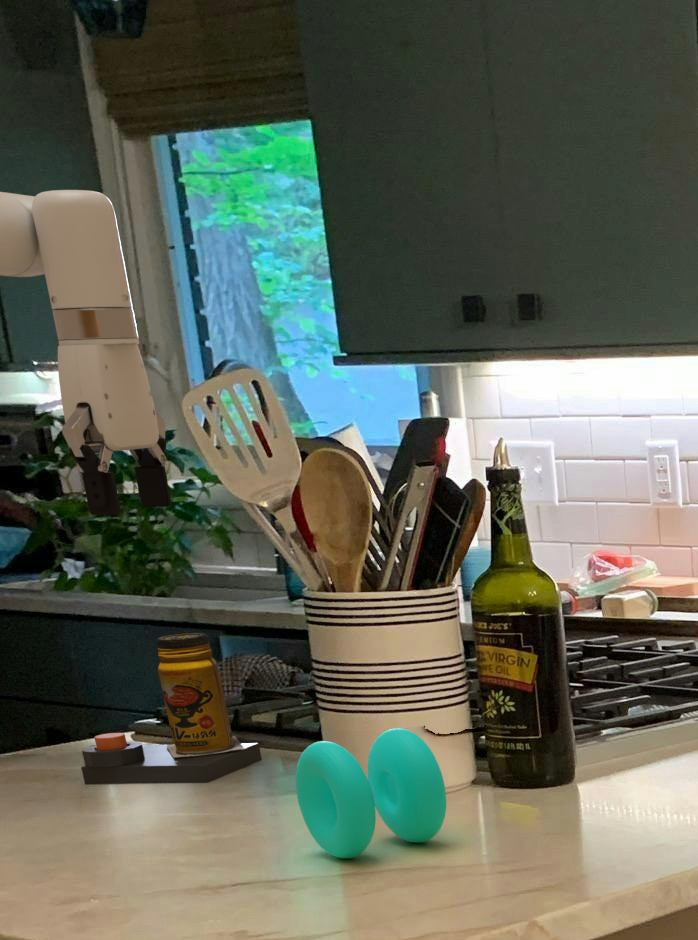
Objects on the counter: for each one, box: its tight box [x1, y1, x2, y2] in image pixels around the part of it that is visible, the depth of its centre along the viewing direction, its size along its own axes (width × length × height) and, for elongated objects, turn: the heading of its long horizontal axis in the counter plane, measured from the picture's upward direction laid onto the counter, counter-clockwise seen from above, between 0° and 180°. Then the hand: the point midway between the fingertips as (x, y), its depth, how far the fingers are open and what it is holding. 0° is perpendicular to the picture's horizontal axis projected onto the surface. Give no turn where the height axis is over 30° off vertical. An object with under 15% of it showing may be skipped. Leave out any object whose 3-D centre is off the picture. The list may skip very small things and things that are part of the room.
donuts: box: [295, 727, 447, 859], centre depth 168 cm, size 10×10×10 cm
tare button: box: [94, 732, 127, 750], centre depth 204 cm, size 3×3×2 cm
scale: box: [80, 740, 262, 785], centre depth 207 cm, size 14×12×4 cm
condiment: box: [155, 632, 245, 758], centre depth 207 cm, size 7×8×12 cm
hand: (132, 510), depth 201 cm, fingers open, 9 cm apart
